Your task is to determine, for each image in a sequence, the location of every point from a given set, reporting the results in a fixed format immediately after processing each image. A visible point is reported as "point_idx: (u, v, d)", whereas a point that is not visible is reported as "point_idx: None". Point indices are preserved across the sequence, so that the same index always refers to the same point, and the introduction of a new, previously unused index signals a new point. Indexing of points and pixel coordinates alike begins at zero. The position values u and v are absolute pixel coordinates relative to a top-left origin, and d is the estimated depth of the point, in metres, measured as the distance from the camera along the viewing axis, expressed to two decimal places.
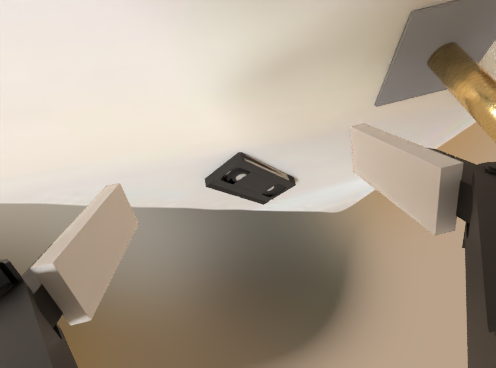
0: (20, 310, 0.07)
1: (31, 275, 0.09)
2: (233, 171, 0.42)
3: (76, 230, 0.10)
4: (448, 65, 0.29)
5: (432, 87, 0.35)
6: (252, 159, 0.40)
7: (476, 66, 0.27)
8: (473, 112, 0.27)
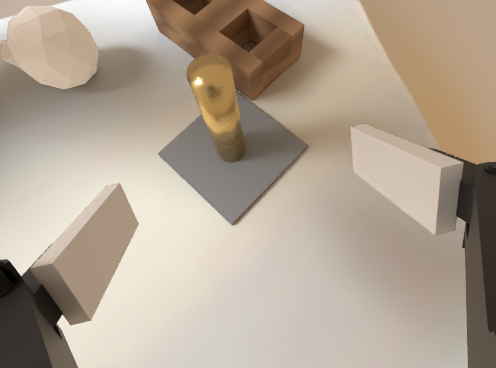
0: (20, 310, 0.07)
1: (31, 275, 0.09)
2: None
3: (76, 230, 0.10)
4: None
5: (272, 168, 0.29)
6: None
7: None
8: (207, 117, 0.22)
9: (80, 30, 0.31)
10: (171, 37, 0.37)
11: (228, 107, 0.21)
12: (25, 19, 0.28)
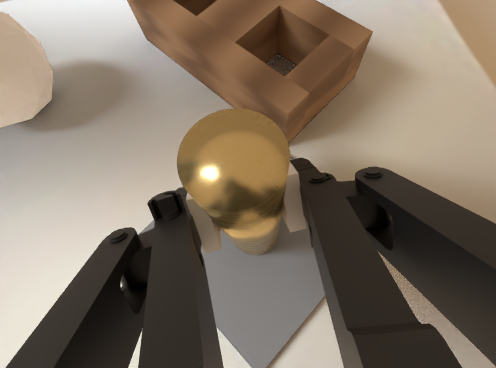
0: (181, 236, 0.09)
1: None
2: None
3: None
4: None
5: None
6: None
7: None
8: (222, 228, 0.11)
9: (16, 39, 0.19)
10: (163, 48, 0.25)
11: (270, 218, 0.10)
12: None
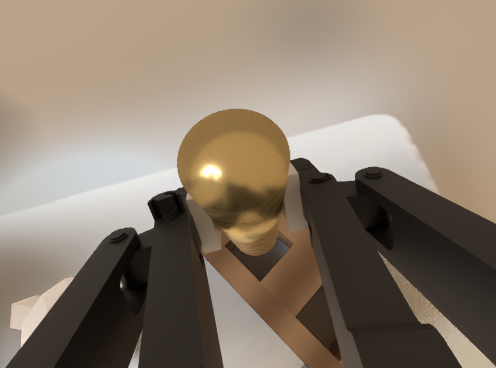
0: (181, 235, 0.09)
1: None
2: None
3: None
4: None
5: None
6: None
7: None
8: (221, 228, 0.11)
9: None
10: None
11: (270, 218, 0.10)
12: None
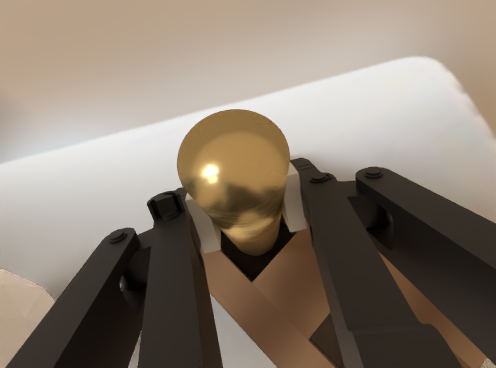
0: (180, 236, 0.09)
1: None
2: None
3: None
4: None
5: None
6: None
7: None
8: (221, 228, 0.11)
9: (11, 340, 0.14)
10: None
11: (270, 219, 0.10)
12: None
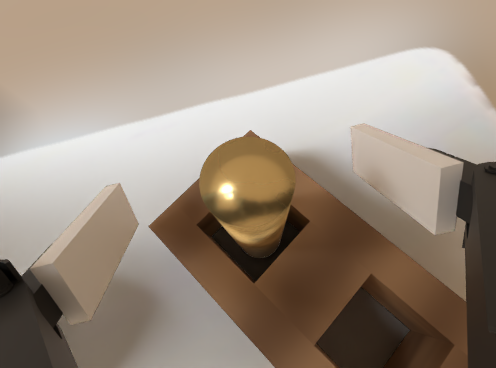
0: (20, 310, 0.07)
1: (31, 275, 0.09)
2: None
3: (76, 230, 0.10)
4: None
5: None
6: None
7: None
8: (233, 236, 0.12)
9: None
10: None
11: (277, 229, 0.11)
12: None
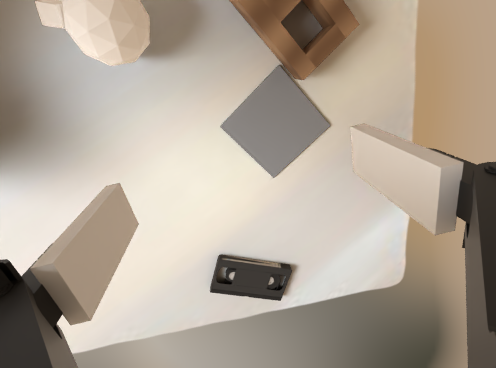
0: (20, 310, 0.07)
1: (31, 275, 0.09)
2: None
3: (76, 230, 0.10)
4: None
5: (303, 142, 0.42)
6: (233, 257, 0.50)
7: None
8: None
9: (140, 14, 0.29)
10: None
11: None
12: (93, 21, 0.27)
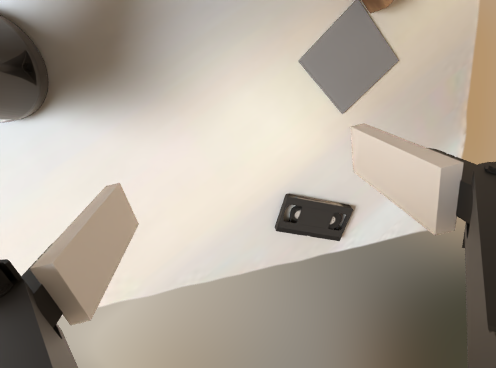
0: (20, 310, 0.07)
1: (31, 275, 0.09)
2: (291, 212, 0.54)
3: (76, 230, 0.10)
4: None
5: (372, 77, 0.45)
6: (299, 196, 0.53)
7: None
8: None
9: None
10: None
11: None
12: None
